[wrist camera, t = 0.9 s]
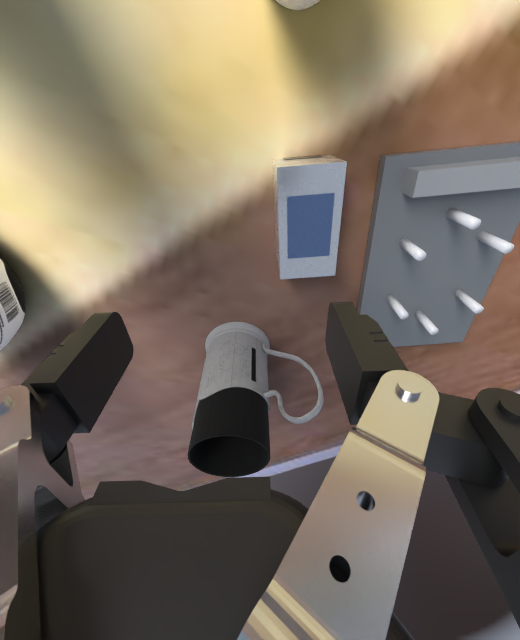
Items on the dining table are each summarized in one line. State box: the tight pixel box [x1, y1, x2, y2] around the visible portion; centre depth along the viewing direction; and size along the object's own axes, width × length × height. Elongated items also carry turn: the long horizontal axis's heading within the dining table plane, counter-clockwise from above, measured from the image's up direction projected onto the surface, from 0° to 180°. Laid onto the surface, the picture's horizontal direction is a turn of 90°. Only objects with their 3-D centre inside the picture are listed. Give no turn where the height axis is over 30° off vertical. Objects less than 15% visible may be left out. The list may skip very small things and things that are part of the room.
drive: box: [273, 155, 347, 279], centre depth 24 cm, size 9×5×6 cm, turn 4°
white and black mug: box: [188, 322, 324, 477], centre depth 30 cm, size 9×14×15 cm, turn 119°
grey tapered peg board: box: [357, 141, 520, 347], centre depth 28 cm, size 22×14×5 cm, turn 5°
